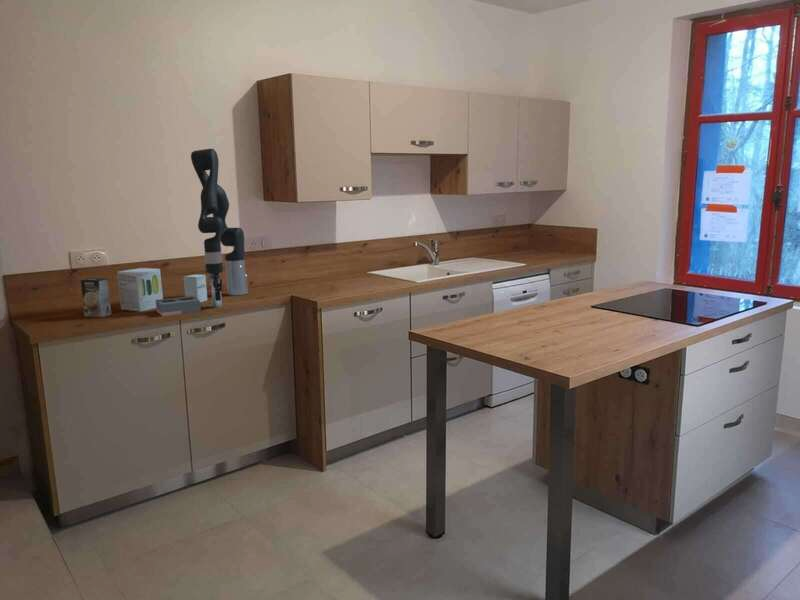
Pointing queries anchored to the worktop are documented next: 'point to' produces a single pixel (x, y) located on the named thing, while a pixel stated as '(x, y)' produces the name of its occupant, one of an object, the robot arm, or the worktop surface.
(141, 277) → the supplement box
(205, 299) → the supplement box
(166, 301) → the socket block
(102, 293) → the coffee box
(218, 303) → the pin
